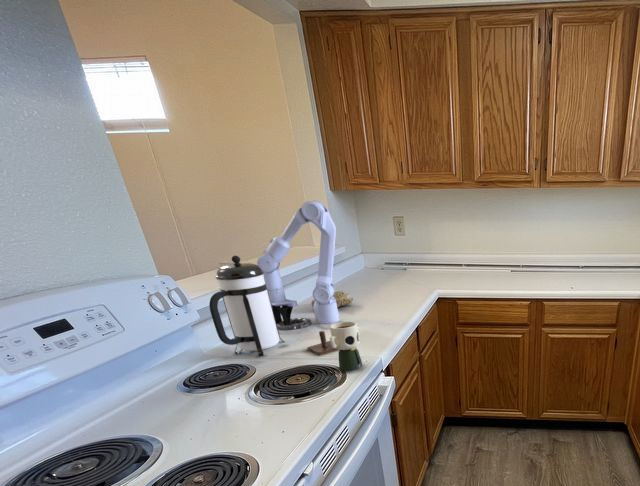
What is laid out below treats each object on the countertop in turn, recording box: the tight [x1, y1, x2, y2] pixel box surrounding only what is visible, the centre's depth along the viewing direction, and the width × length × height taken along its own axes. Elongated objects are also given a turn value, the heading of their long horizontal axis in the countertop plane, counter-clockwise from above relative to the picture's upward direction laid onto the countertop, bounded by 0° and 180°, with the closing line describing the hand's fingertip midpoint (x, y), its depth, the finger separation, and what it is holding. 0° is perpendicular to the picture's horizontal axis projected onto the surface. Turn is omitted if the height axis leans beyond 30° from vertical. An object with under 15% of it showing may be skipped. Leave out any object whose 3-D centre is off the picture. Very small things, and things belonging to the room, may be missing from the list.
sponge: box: [310, 290, 354, 308], centre depth 180 cm, size 13×8×20 cm
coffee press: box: [209, 255, 285, 358], centre depth 129 cm, size 17×16×30 cm
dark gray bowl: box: [276, 317, 313, 331], centre depth 156 cm, size 12×12×3 cm
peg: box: [306, 330, 339, 356], centre depth 134 cm, size 8×8×6 cm
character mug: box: [329, 320, 363, 372], centre depth 117 cm, size 11×7×13 cm, turn 157°
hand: (283, 324), depth 157 cm, fingers closed on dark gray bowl, 3 cm apart
